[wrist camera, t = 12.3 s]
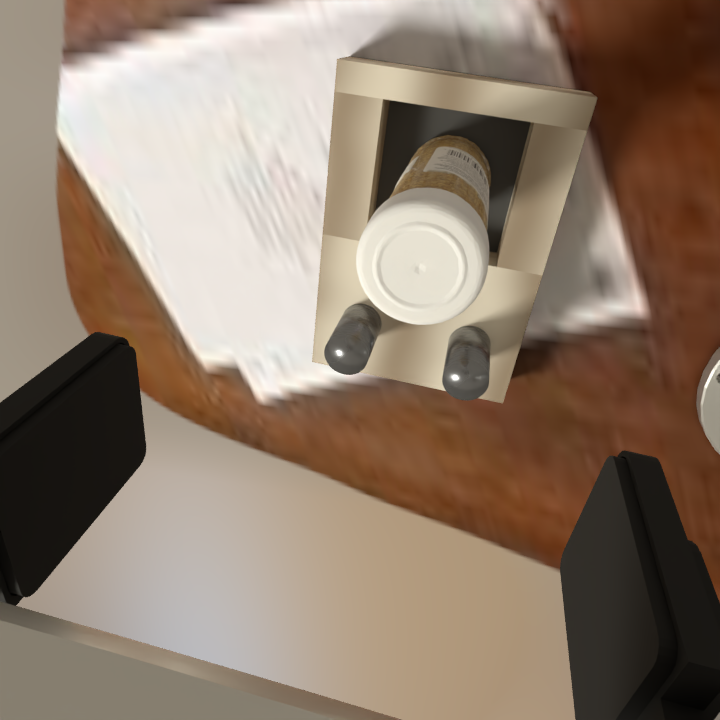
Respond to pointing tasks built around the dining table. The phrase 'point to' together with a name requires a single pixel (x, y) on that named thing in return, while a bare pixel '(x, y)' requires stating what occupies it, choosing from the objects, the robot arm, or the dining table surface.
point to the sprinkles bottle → (430, 235)
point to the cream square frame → (505, 216)
